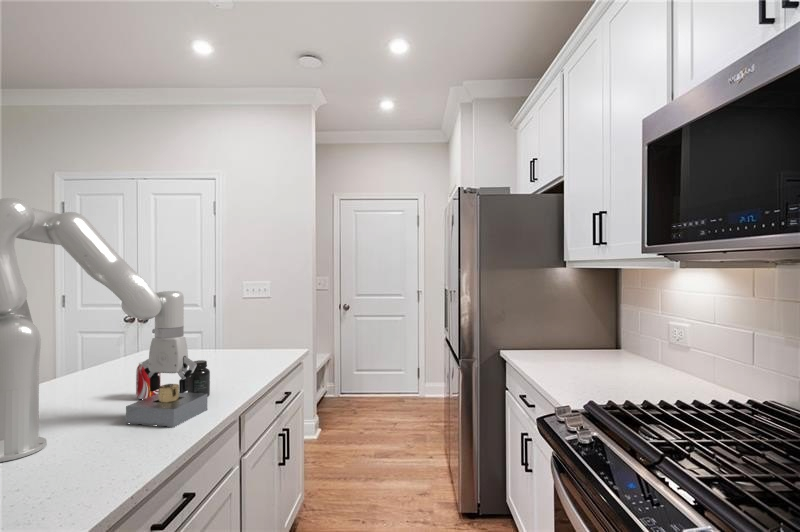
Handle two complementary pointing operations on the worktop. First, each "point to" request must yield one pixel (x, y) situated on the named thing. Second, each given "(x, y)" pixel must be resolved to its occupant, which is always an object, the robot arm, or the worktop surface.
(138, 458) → the worktop surface
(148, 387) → the soda can
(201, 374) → the supplement bottle
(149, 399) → the housing
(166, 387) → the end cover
